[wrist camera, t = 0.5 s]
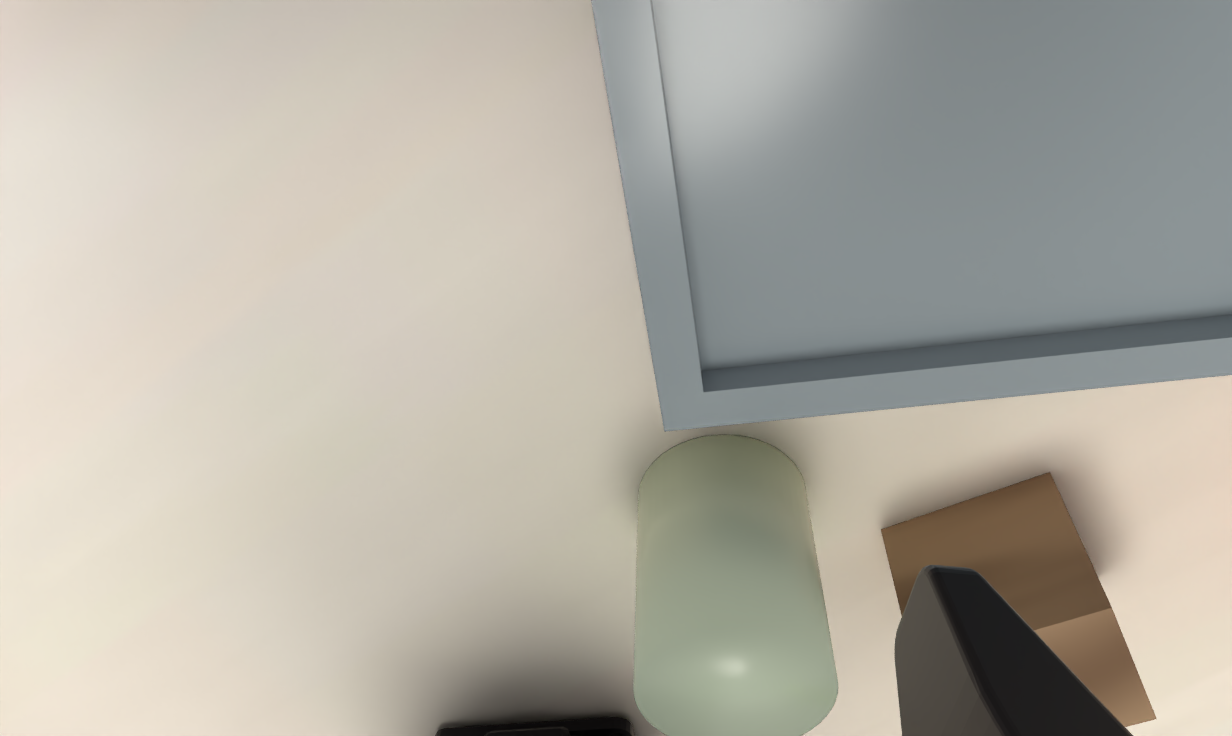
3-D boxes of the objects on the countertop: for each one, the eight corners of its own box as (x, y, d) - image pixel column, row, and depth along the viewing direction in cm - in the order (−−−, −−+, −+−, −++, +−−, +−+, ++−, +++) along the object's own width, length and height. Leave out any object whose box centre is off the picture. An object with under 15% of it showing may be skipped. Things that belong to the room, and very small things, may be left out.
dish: (1281, 318, 23) (1323, 365, 21) (663, 383, 25) (664, 431, 23) (1493, -479, 15) (1583, -489, 13) (551, -300, 17) (541, -293, 15)
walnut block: (1092, 577, 28) (1156, 719, 25) (935, 625, 30) (973, 765, 26) (1048, 469, 26) (1111, 607, 22) (880, 527, 27) (914, 665, 24)
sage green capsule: (809, 550, 28) (841, 744, 23) (650, 563, 28) (648, 756, 24) (801, 426, 25) (834, 616, 20) (626, 444, 26) (618, 632, 21)
